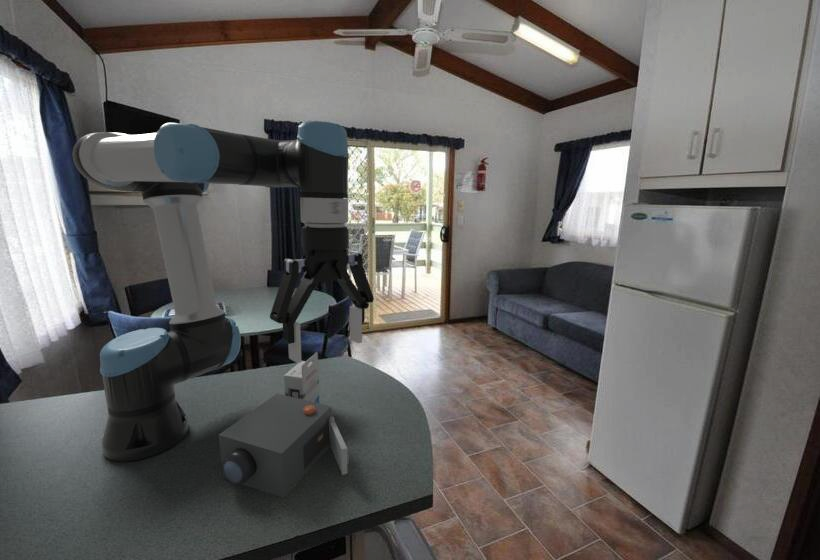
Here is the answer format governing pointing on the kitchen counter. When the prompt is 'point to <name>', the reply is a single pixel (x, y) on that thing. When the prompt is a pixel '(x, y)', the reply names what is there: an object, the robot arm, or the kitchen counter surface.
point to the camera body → (275, 444)
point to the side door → (339, 448)
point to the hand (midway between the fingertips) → (327, 350)
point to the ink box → (303, 380)
